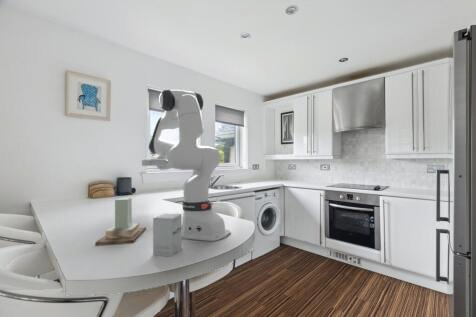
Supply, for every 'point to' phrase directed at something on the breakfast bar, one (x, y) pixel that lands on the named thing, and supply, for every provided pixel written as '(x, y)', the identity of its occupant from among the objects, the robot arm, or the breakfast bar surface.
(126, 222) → the column block
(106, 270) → the breakfast bar surface
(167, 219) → the supplement box
